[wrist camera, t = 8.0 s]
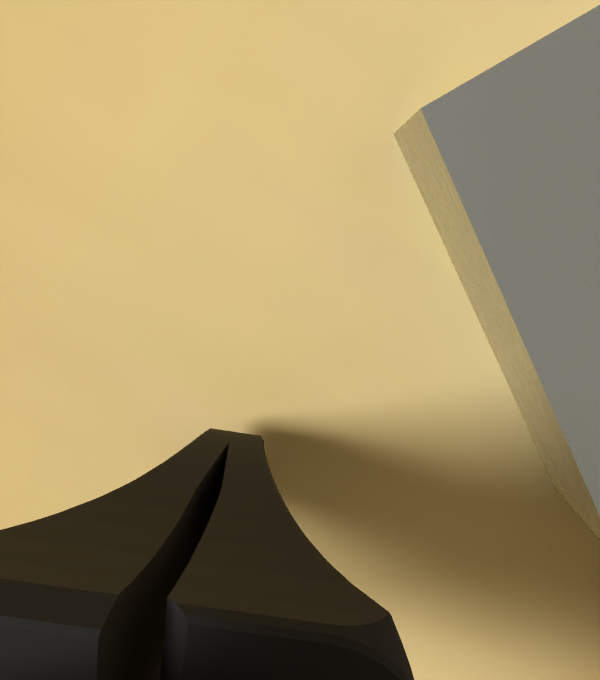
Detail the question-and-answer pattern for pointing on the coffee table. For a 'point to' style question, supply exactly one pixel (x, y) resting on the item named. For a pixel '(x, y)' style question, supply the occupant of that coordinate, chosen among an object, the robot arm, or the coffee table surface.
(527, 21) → the coffee table surface
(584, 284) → the plate block
